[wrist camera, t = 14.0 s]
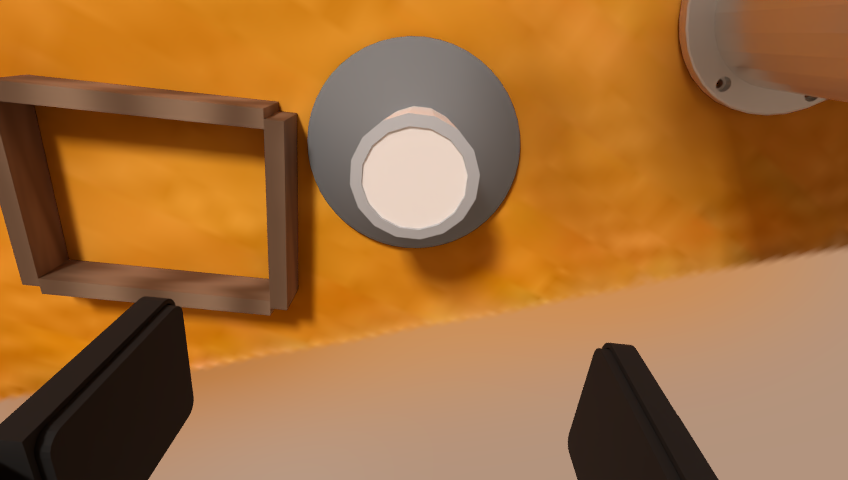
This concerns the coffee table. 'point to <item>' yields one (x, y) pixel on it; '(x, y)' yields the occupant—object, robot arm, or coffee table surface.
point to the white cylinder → (414, 174)
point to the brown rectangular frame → (57, 275)
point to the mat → (402, 88)
